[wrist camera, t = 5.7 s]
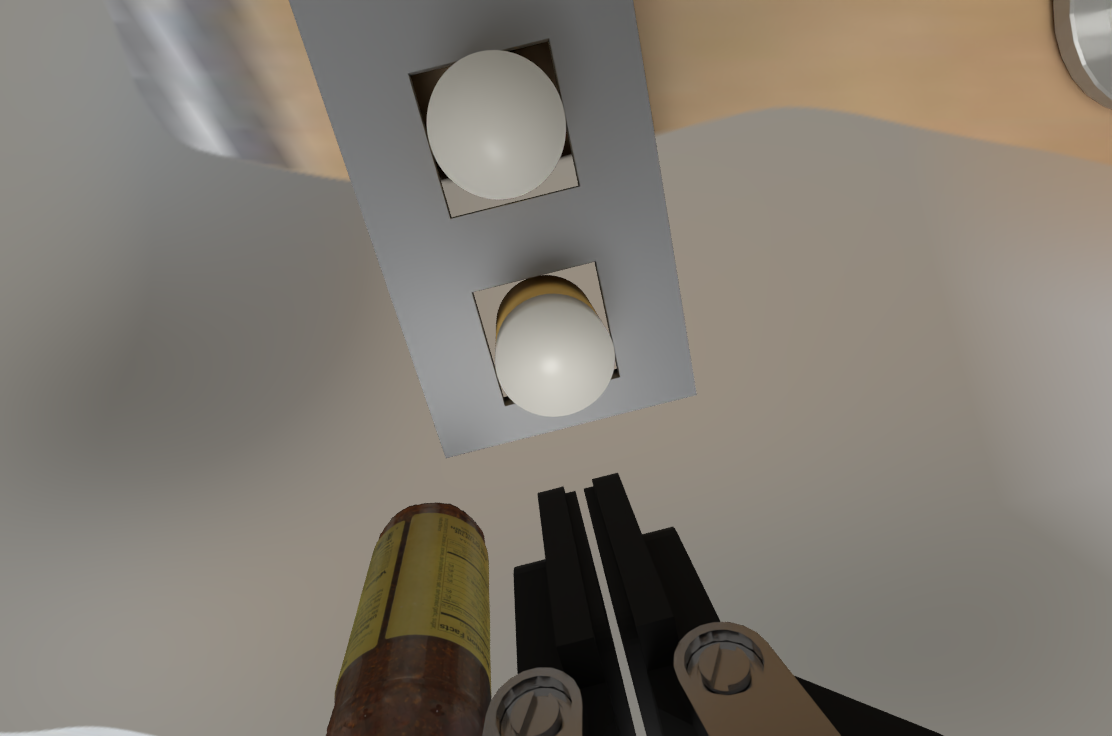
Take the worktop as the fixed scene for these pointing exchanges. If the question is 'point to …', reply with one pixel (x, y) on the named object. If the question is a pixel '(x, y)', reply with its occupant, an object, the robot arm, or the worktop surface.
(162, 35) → the worktop surface
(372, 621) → the sauce bottle
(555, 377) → the button
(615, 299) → the button board
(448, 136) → the button middle
